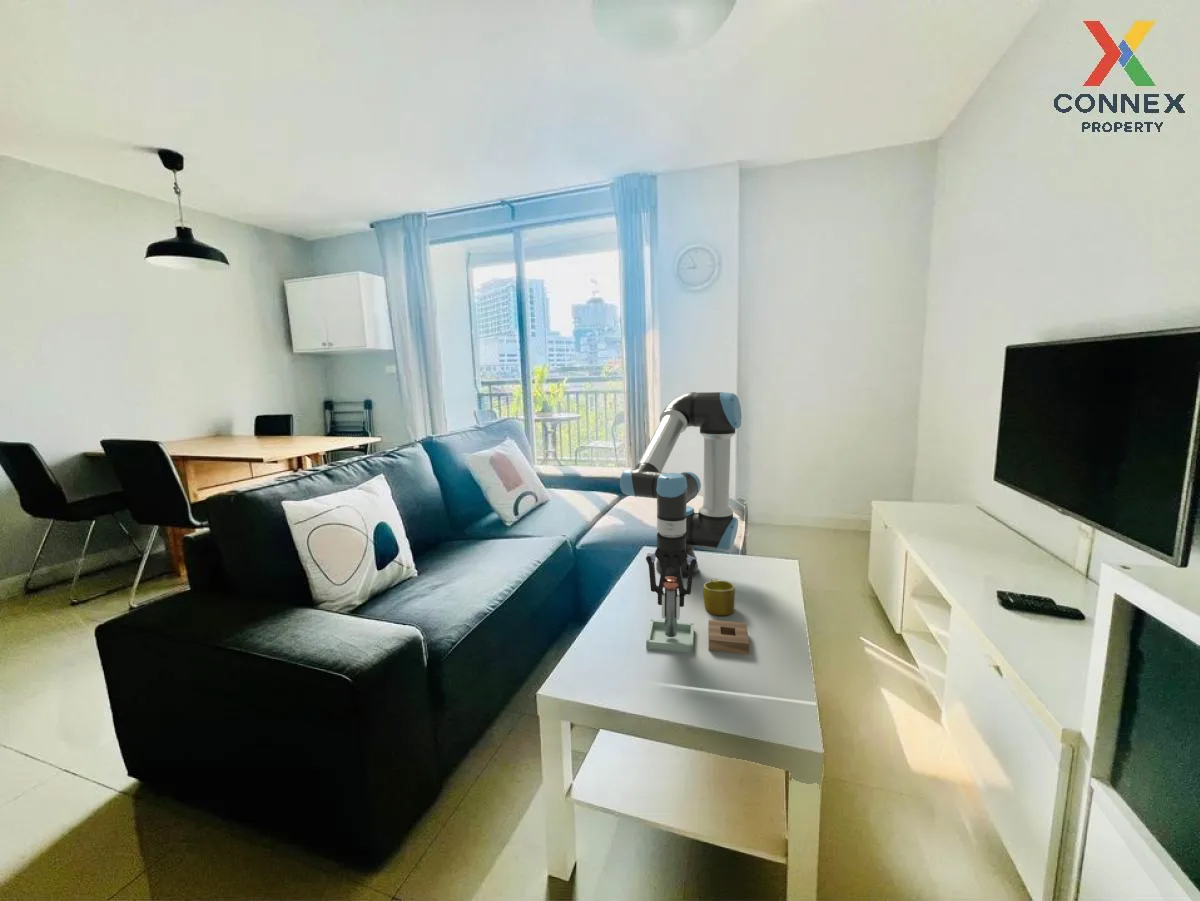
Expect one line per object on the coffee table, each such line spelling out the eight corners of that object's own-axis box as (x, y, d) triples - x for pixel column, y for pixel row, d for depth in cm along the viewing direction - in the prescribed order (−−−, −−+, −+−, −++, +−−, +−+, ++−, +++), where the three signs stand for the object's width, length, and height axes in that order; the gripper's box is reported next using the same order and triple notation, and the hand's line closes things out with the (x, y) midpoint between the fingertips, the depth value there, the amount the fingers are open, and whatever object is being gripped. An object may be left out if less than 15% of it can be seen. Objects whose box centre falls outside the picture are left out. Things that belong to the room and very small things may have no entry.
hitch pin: (660, 637, 124) (661, 583, 122) (662, 628, 129) (662, 575, 126) (679, 639, 123) (679, 584, 121) (680, 630, 128) (680, 576, 125)
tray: (650, 627, 133) (650, 619, 133) (693, 631, 130) (693, 623, 130) (646, 649, 123) (646, 641, 122) (692, 654, 120) (692, 646, 120)
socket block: (708, 631, 131) (708, 619, 130) (745, 634, 128) (746, 623, 128) (708, 651, 121) (708, 639, 120) (748, 656, 119) (749, 643, 118)
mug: (742, 616, 135) (731, 582, 136) (707, 623, 137) (697, 589, 138) (741, 603, 146) (731, 572, 147) (709, 610, 149) (699, 579, 150)
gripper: (638, 536, 120) (638, 620, 123) (703, 539, 116) (701, 626, 120) (642, 526, 127) (642, 606, 131) (703, 529, 123) (701, 612, 127)
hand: (670, 616), depth 125 cm, fingers closed on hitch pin, 3 cm apart
